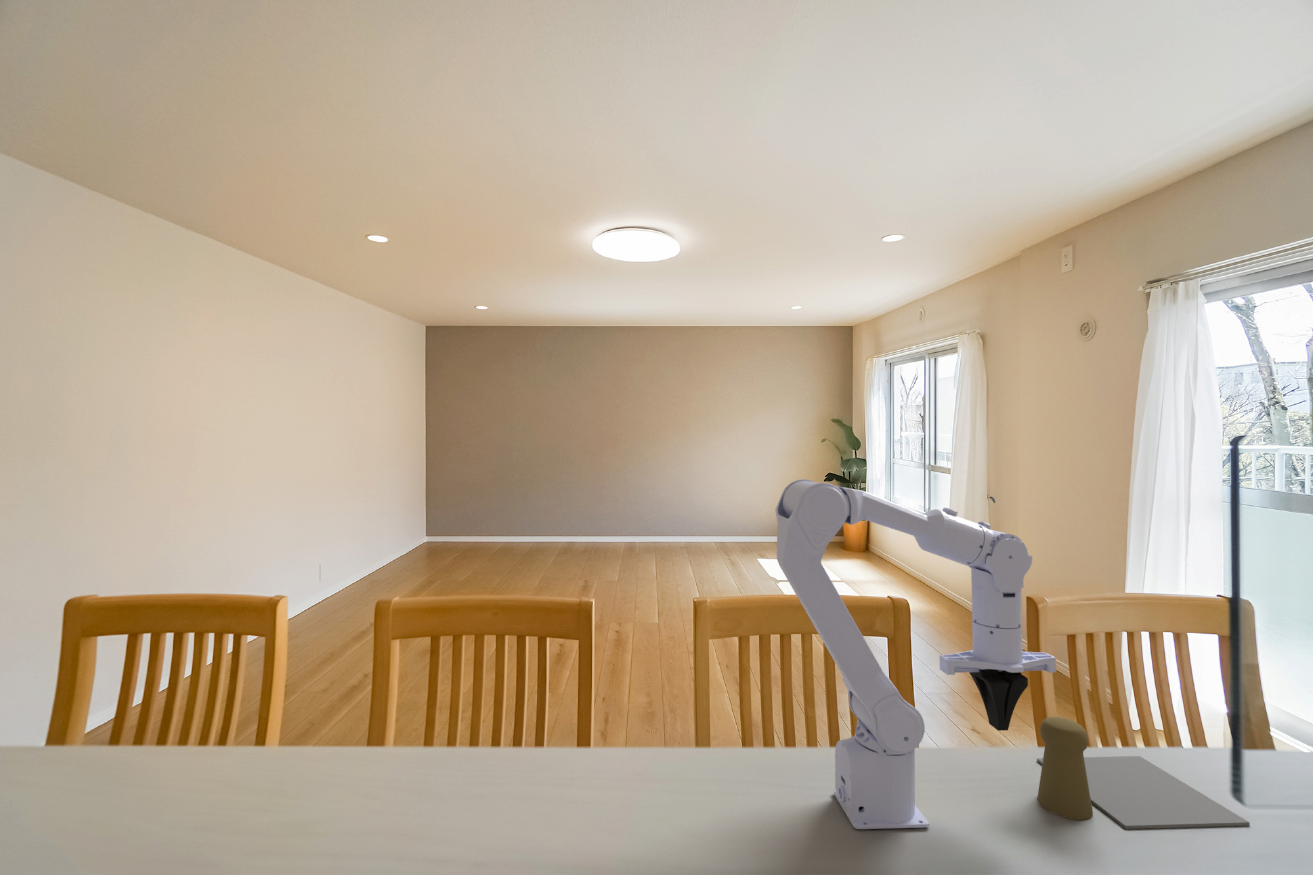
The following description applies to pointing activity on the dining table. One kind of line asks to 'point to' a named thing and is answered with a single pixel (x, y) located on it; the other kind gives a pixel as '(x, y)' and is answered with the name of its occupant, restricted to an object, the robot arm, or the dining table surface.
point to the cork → (1064, 769)
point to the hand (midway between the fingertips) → (998, 726)
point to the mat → (1150, 796)
